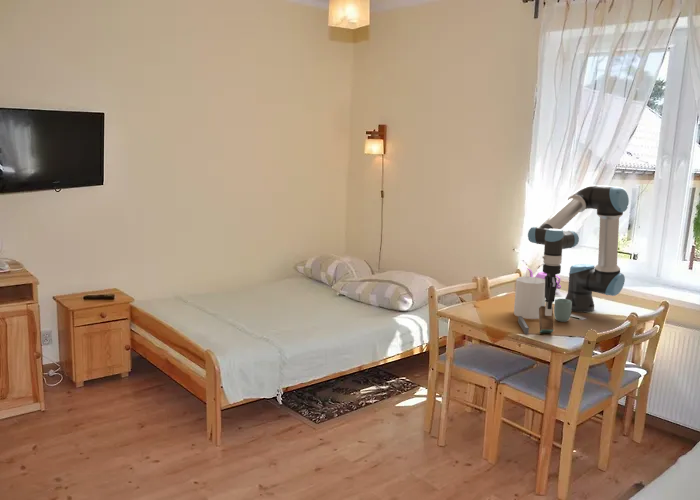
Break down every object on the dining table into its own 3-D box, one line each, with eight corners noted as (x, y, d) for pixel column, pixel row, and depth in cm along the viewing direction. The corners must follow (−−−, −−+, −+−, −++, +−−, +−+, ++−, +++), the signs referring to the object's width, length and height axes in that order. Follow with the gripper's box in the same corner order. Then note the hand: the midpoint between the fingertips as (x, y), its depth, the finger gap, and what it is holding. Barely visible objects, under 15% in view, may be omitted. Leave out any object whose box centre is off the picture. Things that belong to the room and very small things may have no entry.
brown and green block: (551, 332, 278) (549, 309, 282) (553, 330, 273) (552, 306, 277) (539, 332, 279) (538, 308, 282) (542, 330, 274) (541, 306, 277)
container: (517, 309, 315) (519, 275, 312) (546, 313, 309) (548, 278, 305) (511, 316, 302) (513, 281, 299) (541, 321, 296) (544, 284, 293)
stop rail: (521, 322, 293) (521, 316, 293) (528, 334, 276) (528, 327, 275) (517, 321, 293) (518, 315, 293) (525, 334, 276) (525, 327, 275)
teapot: (521, 291, 351) (523, 269, 349) (530, 286, 362) (531, 265, 360) (556, 296, 340) (558, 274, 337) (564, 291, 351) (566, 270, 349)
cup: (550, 318, 300) (552, 298, 298) (566, 318, 301) (567, 298, 299) (557, 323, 292) (559, 303, 290) (573, 323, 293) (574, 302, 291)
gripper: (540, 260, 277) (536, 310, 281) (546, 267, 264) (542, 319, 269) (557, 261, 276) (553, 311, 281) (564, 267, 264) (560, 320, 268)
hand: (548, 315), depth 275 cm, fingers closed
